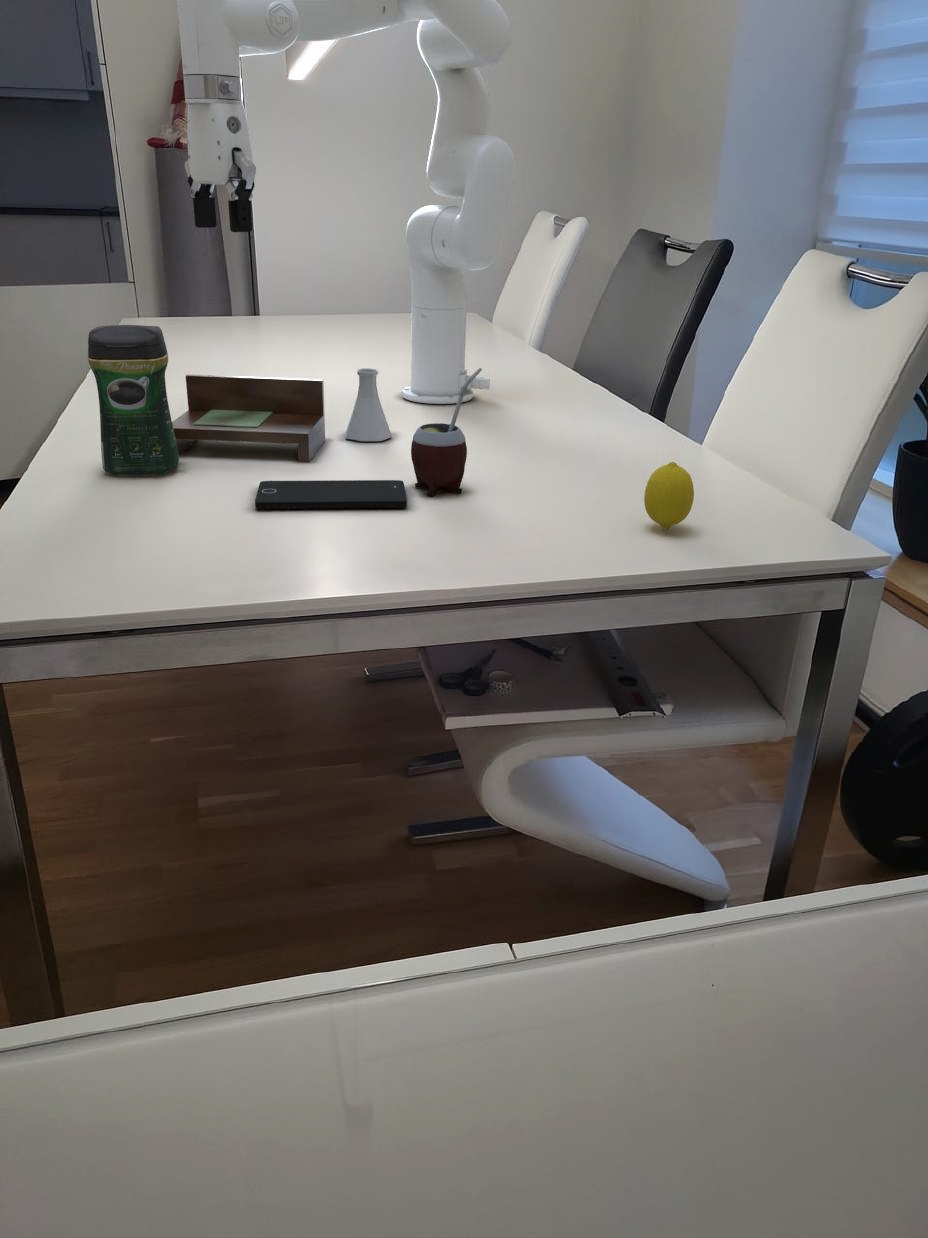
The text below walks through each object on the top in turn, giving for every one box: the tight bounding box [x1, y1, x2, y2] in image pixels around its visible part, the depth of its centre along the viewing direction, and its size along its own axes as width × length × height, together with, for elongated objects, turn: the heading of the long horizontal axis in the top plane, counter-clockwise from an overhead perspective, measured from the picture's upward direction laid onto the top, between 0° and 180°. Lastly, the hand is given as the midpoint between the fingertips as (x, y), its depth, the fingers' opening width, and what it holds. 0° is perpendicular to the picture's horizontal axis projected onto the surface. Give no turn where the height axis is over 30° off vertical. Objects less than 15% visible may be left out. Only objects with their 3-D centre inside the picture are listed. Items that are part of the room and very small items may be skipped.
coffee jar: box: [87, 324, 180, 477], centre depth 129 cm, size 10×8×19 cm
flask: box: [345, 367, 392, 442], centre depth 150 cm, size 7×7×10 cm
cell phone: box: [254, 479, 408, 510], centre depth 123 cm, size 9×18×1 cm, turn 96°
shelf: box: [172, 374, 326, 463], centre depth 143 cm, size 20×12×9 cm, turn 87°
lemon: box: [643, 461, 695, 530], centre depth 115 cm, size 6×6×8 cm
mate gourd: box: [410, 367, 483, 498], centre depth 126 cm, size 8×8×15 cm
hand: (223, 229), depth 142 cm, fingers open, 9 cm apart
